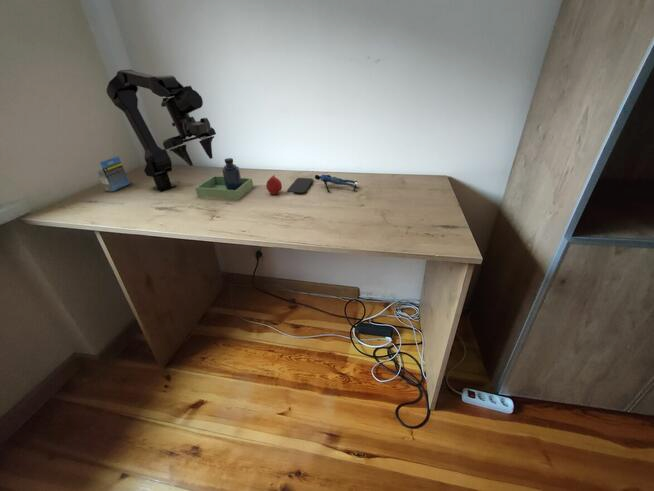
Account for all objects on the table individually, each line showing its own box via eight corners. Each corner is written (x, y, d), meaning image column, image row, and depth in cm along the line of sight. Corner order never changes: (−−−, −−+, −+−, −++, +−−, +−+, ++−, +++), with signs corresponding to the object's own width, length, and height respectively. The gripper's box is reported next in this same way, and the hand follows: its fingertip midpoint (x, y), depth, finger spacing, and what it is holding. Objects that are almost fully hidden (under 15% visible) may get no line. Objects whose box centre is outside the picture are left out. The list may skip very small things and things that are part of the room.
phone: (286, 191, 116) (297, 177, 128) (286, 193, 117) (297, 179, 129) (304, 192, 115) (313, 178, 127) (304, 194, 115) (314, 180, 127)
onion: (279, 198, 113) (277, 178, 108) (265, 197, 114) (262, 177, 109) (284, 192, 117) (282, 173, 113) (270, 191, 118) (268, 172, 114)
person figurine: (358, 188, 124) (317, 179, 126) (360, 177, 121) (318, 169, 124) (354, 198, 115) (310, 188, 117) (356, 187, 112) (311, 178, 115)
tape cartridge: (123, 183, 130) (111, 155, 123) (130, 184, 129) (119, 155, 122) (105, 191, 122) (92, 161, 116) (113, 192, 122) (99, 162, 115)
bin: (197, 197, 115) (195, 187, 113) (216, 185, 126) (214, 175, 123) (238, 201, 111) (236, 190, 109) (253, 188, 122) (251, 178, 120)
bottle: (223, 192, 117) (216, 160, 110) (236, 187, 121) (230, 156, 114) (234, 196, 114) (227, 162, 107) (246, 191, 118) (240, 158, 111)
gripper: (170, 115, 89) (195, 165, 95) (216, 106, 103) (234, 150, 109) (151, 124, 95) (175, 171, 101) (196, 114, 109) (215, 156, 115)
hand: (201, 162), depth 107 cm, fingers open, 9 cm apart
